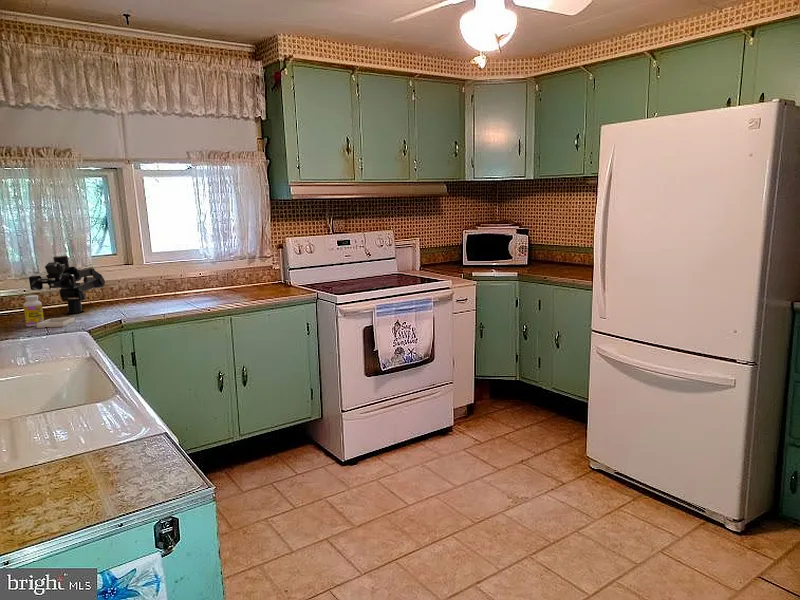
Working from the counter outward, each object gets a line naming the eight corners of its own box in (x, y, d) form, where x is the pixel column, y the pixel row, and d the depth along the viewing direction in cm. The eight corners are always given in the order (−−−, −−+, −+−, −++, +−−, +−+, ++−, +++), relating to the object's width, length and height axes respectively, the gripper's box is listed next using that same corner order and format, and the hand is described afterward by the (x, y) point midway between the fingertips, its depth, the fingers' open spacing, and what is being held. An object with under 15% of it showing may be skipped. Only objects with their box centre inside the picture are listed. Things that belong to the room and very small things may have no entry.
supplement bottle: (27, 327, 241) (23, 297, 239) (24, 325, 246) (20, 296, 244) (46, 325, 245) (42, 295, 243) (42, 323, 250) (38, 294, 248)
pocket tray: (51, 322, 251) (50, 318, 250) (76, 321, 252) (76, 317, 251) (37, 328, 239) (36, 323, 239) (63, 326, 240) (63, 322, 240)
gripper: (36, 262, 260) (17, 268, 244) (79, 261, 261) (62, 266, 246) (40, 286, 262) (21, 293, 247) (82, 284, 264) (66, 291, 248)
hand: (42, 285), depth 247 cm, fingers open, 9 cm apart
